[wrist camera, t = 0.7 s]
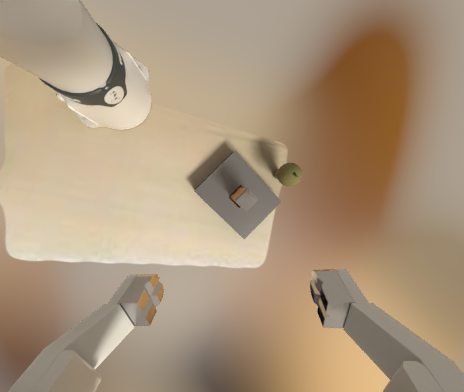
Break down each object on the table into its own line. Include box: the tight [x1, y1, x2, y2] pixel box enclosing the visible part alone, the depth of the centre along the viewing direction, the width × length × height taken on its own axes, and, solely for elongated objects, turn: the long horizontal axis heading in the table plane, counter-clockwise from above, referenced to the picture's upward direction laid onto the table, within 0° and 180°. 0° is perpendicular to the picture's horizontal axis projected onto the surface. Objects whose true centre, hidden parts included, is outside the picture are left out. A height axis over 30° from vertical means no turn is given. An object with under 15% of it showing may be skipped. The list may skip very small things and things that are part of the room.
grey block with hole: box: [194, 151, 281, 239], centre depth 45 cm, size 18×14×4 cm
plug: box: [229, 187, 258, 212], centre depth 41 cm, size 3×4×10 cm
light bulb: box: [274, 163, 302, 186], centre depth 43 cm, size 6×6×10 cm
